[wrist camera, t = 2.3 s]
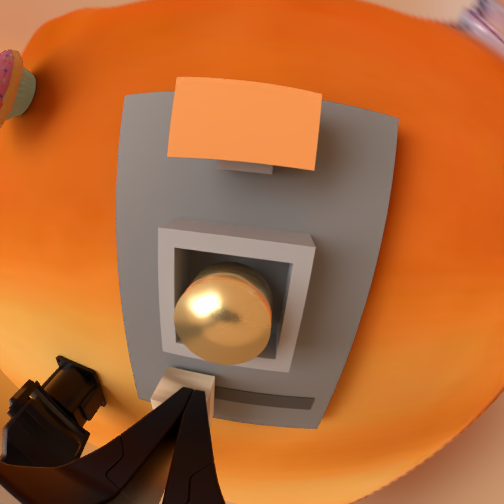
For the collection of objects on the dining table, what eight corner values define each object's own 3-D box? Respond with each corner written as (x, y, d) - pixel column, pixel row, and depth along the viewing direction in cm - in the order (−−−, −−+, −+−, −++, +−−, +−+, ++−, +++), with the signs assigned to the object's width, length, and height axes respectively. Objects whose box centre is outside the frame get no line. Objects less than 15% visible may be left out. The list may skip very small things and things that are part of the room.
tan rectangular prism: (172, 403, 22) (158, 434, 18) (167, 366, 20) (150, 399, 17) (213, 412, 22) (204, 445, 18) (214, 376, 20) (203, 412, 16)
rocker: (172, 157, 13) (166, 156, 12) (181, 84, 12) (177, 76, 10) (305, 169, 14) (314, 170, 13) (313, 99, 13) (322, 94, 11)
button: (190, 327, 17) (175, 355, 14) (191, 255, 16) (172, 275, 13) (266, 340, 17) (263, 370, 14) (278, 267, 15) (277, 290, 12)
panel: (145, 386, 25) (127, 418, 20) (138, 100, 17) (100, 86, 12) (315, 414, 24) (318, 452, 19) (387, 122, 16) (419, 110, 11)
